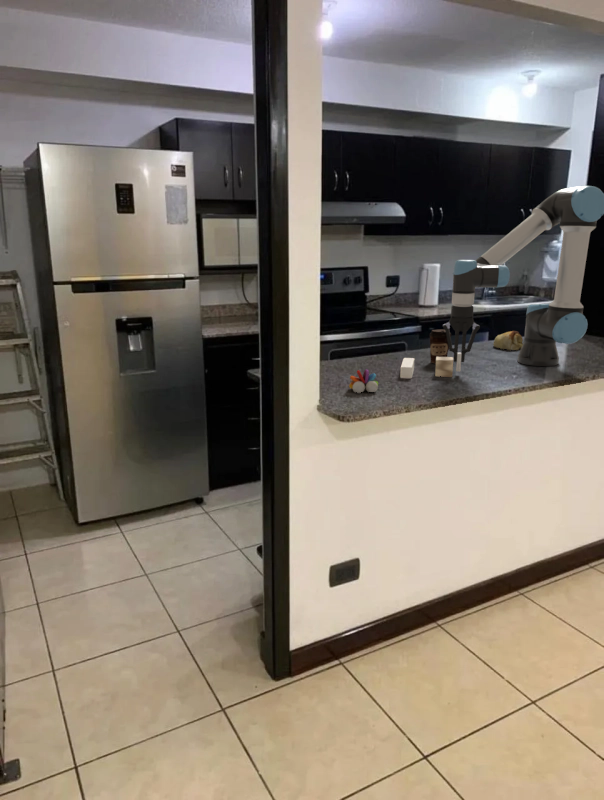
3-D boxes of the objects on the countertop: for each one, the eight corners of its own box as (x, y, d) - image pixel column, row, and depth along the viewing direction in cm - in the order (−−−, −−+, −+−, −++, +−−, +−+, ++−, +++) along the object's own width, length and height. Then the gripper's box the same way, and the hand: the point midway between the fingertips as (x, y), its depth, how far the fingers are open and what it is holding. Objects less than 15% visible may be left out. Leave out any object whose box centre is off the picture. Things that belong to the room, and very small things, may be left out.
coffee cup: (449, 365, 230) (451, 332, 227) (428, 364, 232) (429, 331, 228) (449, 360, 239) (451, 328, 235) (428, 360, 240) (429, 328, 237)
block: (452, 373, 218) (453, 357, 217) (452, 377, 213) (453, 360, 211) (435, 372, 220) (436, 356, 218) (435, 376, 214) (436, 360, 212)
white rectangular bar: (414, 368, 226) (414, 358, 225) (411, 378, 211) (412, 367, 210) (403, 368, 227) (403, 357, 226) (400, 377, 212) (400, 367, 211)
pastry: (524, 351, 256) (525, 333, 254) (493, 350, 259) (495, 332, 257) (521, 345, 269) (522, 328, 267) (492, 344, 272) (493, 327, 270)
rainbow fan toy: (347, 388, 200) (347, 367, 198) (375, 387, 201) (376, 366, 199) (351, 394, 192) (351, 372, 190) (380, 393, 192) (381, 372, 190)
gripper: (481, 304, 210) (476, 369, 216) (443, 303, 213) (439, 367, 219) (482, 306, 203) (477, 373, 209) (443, 306, 206) (439, 372, 212)
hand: (458, 370), depth 214 cm, fingers closed
